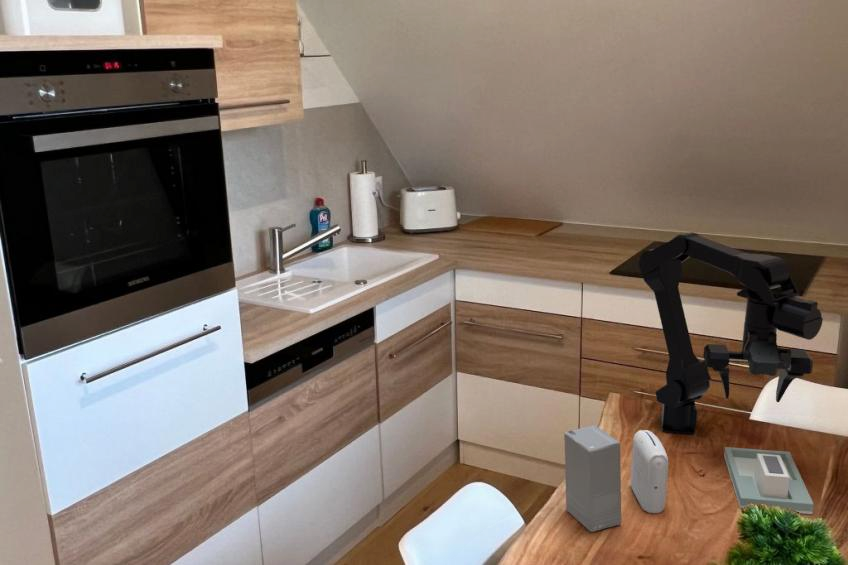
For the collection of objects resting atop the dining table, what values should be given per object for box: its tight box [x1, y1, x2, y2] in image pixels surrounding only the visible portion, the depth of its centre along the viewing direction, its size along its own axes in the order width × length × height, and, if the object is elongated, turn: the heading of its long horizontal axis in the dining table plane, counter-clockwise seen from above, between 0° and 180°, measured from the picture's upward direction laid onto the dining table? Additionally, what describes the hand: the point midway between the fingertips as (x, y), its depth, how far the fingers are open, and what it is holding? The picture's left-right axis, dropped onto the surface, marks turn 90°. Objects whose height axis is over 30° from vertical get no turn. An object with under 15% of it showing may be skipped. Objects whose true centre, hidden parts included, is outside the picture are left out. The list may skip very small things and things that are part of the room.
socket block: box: [754, 454, 790, 499], centre depth 148 cm, size 4×8×6 cm, turn 169°
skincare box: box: [563, 424, 622, 533], centre depth 141 cm, size 8×7×16 cm
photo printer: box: [629, 429, 669, 514], centre depth 147 cm, size 10×4×12 cm, turn 2°
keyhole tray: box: [723, 446, 815, 515], centre depth 153 cm, size 12×19×2 cm, turn 169°
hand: (752, 399), depth 158 cm, fingers open, 9 cm apart
